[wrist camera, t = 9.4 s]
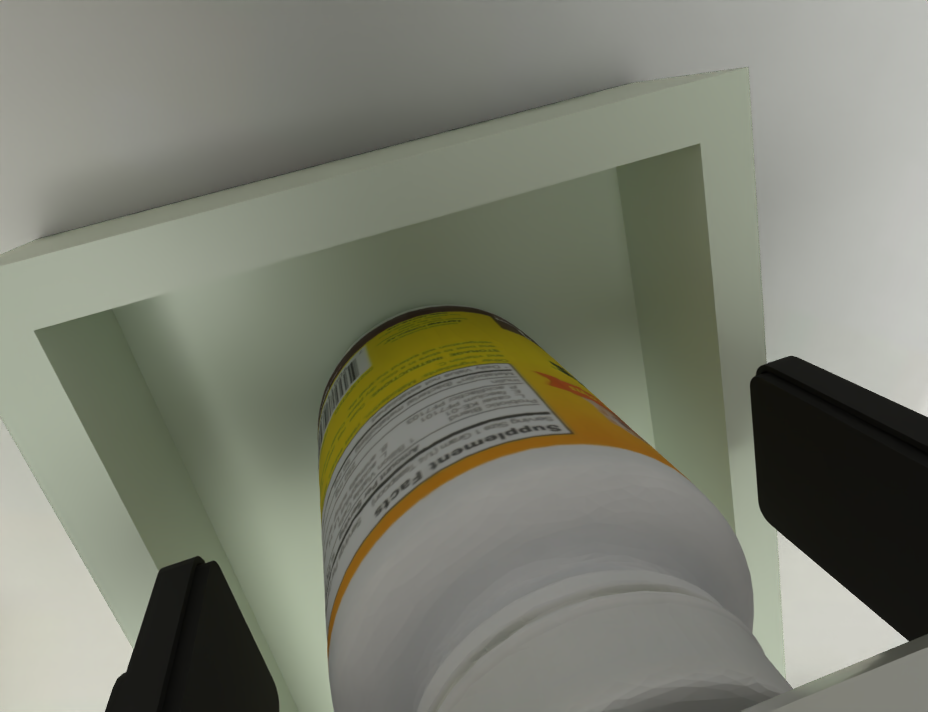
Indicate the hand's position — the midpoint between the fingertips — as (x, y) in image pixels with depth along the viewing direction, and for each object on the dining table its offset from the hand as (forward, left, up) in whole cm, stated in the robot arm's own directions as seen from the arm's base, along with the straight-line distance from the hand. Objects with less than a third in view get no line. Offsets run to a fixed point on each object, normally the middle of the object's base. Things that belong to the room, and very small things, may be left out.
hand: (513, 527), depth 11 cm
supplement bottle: (0, 0, -5) cm, 5 cm away
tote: (+4, 0, -6) cm, 7 cm away
